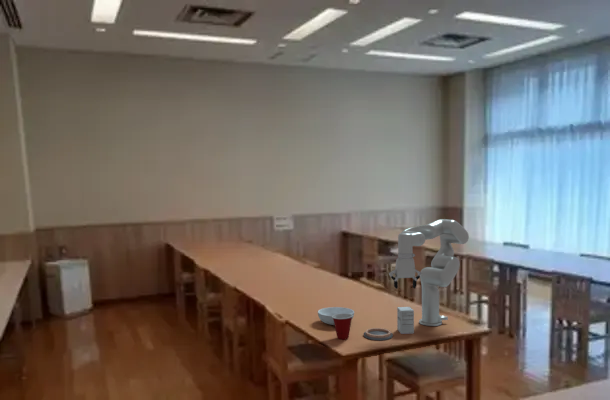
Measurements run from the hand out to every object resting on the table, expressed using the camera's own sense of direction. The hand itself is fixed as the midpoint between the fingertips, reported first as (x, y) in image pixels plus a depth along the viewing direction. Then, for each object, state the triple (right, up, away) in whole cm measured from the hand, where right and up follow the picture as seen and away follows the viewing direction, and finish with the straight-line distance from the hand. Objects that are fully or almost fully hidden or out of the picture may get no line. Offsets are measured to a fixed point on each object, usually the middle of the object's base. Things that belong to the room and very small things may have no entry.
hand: (405, 288), depth 274 cm
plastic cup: (-34, -25, -8) cm, 43 cm away
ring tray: (-15, -24, -5) cm, 29 cm away
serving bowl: (-36, -23, +19) cm, 47 cm away
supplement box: (0, -24, +1) cm, 24 cm away
